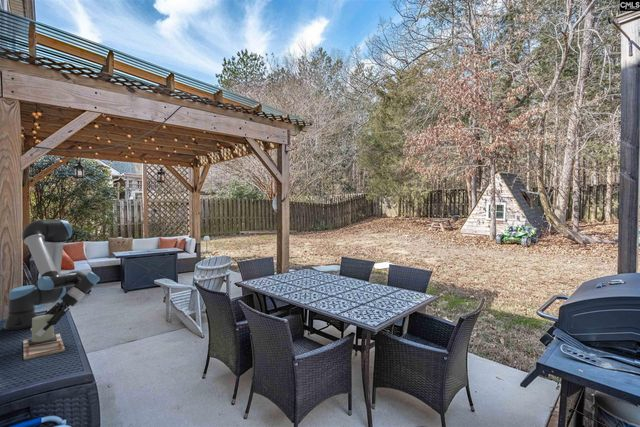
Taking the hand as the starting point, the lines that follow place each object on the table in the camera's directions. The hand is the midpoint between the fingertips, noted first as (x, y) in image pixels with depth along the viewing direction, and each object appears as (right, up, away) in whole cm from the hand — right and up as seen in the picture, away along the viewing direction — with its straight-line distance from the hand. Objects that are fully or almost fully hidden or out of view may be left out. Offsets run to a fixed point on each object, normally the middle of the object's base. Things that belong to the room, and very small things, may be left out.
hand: (34, 333), depth 166 cm
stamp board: (+7, -6, -3) cm, 9 cm away
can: (+2, -4, +3) cm, 5 cm away
